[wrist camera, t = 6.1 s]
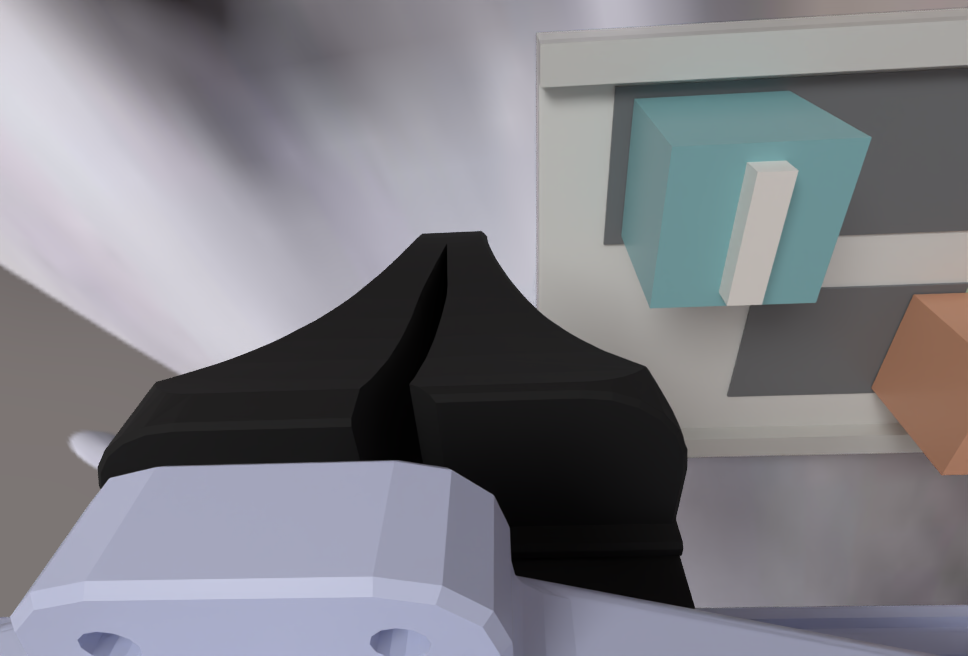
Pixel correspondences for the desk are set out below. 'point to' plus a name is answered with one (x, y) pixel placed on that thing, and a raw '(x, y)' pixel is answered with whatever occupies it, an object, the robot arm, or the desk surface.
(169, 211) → the desk surface
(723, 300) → the teal handled block
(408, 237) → the desk surface
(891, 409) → the orange block with handle
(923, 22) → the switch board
